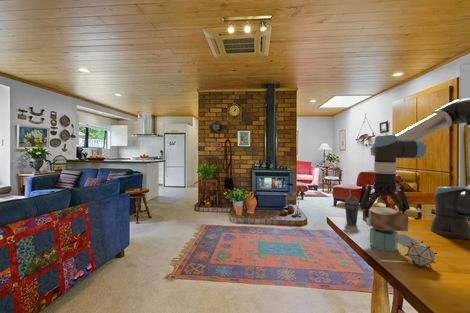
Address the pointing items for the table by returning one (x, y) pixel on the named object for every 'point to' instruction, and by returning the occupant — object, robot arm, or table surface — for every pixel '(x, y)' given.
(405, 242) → the mat
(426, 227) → the table surface
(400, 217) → the brown wooden block
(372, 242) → the bowl
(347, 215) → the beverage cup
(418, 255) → the game die
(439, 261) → the table surface
